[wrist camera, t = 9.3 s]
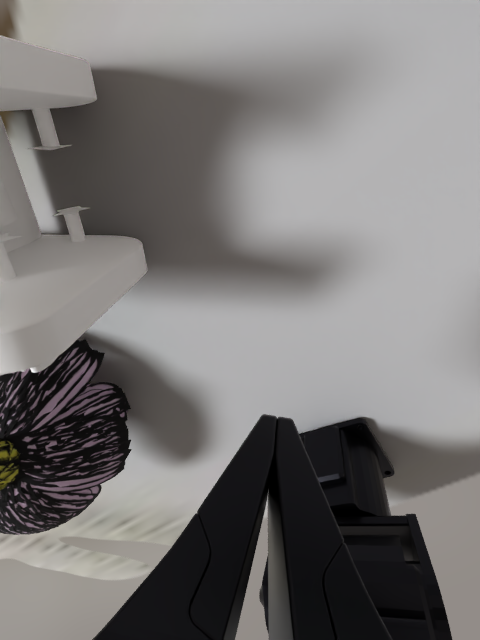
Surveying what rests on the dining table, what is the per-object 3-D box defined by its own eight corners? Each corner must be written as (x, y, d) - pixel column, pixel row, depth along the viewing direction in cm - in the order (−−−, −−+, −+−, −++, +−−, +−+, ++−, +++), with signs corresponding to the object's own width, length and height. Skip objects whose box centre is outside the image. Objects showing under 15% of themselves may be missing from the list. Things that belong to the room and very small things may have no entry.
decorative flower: (136, 525, 18) (-53, 632, 21) (186, 428, 30) (61, 503, 32) (-21, 307, 17) (-203, 443, 20) (94, 294, 29) (-29, 380, 31)
